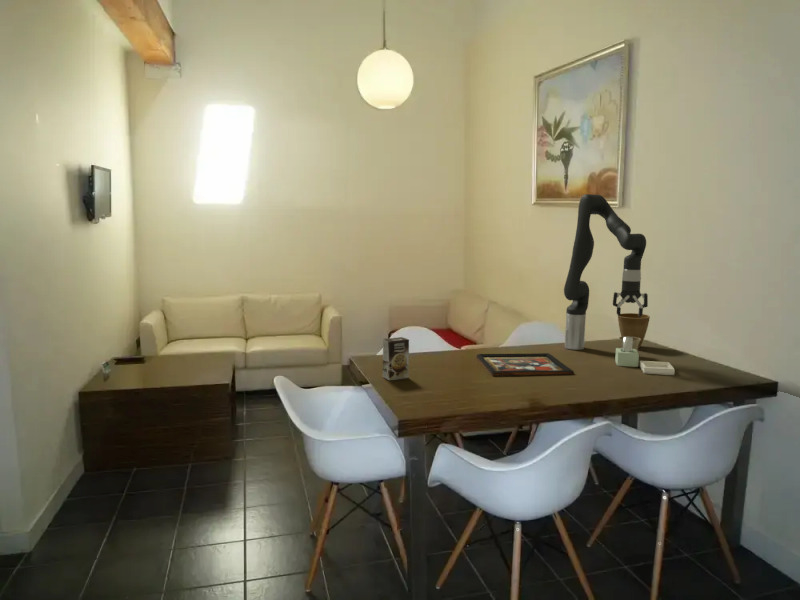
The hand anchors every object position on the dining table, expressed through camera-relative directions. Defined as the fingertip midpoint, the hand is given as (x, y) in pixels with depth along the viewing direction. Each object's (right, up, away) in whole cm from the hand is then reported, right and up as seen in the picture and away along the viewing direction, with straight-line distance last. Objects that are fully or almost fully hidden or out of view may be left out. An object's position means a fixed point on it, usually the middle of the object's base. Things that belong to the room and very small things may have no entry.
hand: (629, 316), depth 274 cm
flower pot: (+6, -19, +17) cm, 27 cm away
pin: (0, -21, +3) cm, 22 cm away
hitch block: (0, -21, +3) cm, 22 cm away
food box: (-103, -25, -19) cm, 107 cm away
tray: (+9, -23, -8) cm, 26 cm away
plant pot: (+15, -16, +37) cm, 43 cm away
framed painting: (-47, -23, 0) cm, 52 cm away
